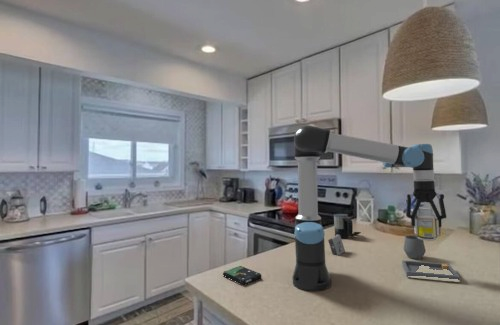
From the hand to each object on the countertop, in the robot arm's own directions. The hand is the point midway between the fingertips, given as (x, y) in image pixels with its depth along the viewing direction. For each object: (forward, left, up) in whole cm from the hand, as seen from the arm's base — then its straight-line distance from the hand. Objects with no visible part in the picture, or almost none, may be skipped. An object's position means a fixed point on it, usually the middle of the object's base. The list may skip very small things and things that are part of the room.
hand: (426, 234), depth 118 cm
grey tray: (0, 0, -17) cm, 17 cm away
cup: (-2, +22, -17) cm, 28 cm away
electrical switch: (-39, +20, -17) cm, 47 cm away
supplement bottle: (0, 0, -2) cm, 2 cm away
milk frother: (-36, +58, -17) cm, 70 cm away
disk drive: (-75, -27, -17) cm, 81 cm away
